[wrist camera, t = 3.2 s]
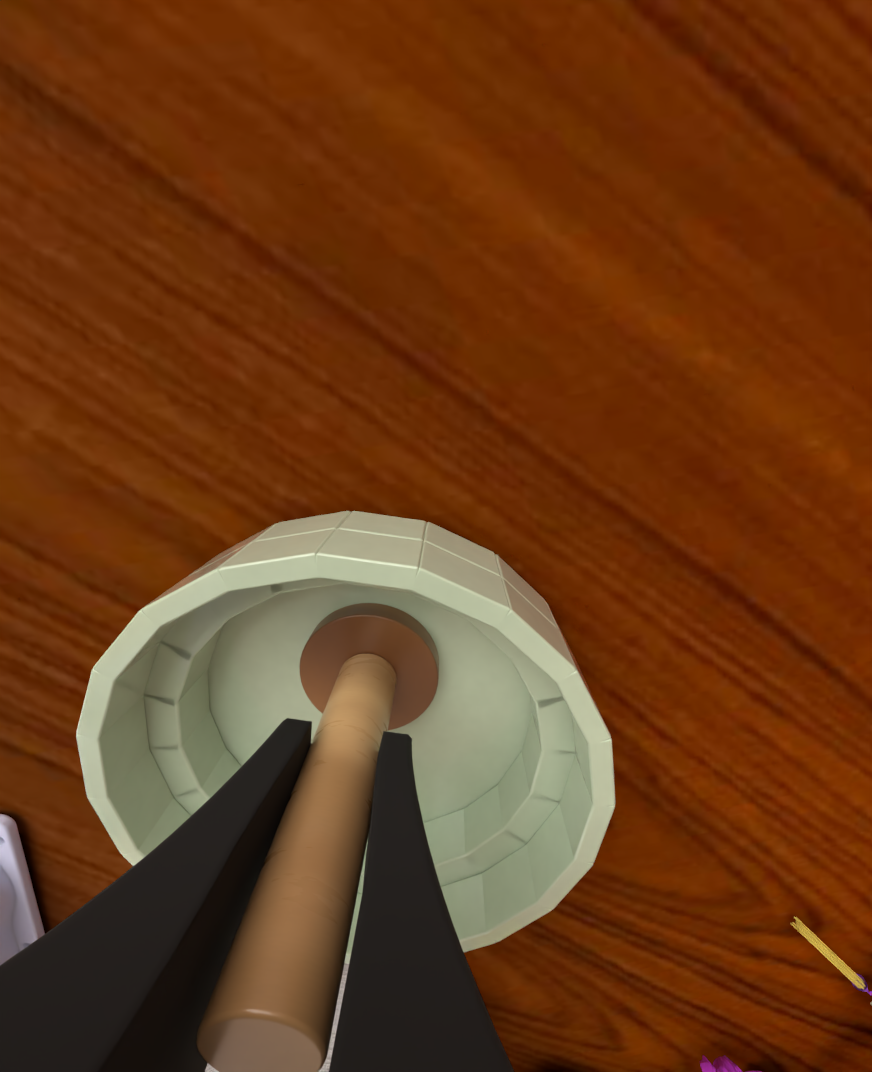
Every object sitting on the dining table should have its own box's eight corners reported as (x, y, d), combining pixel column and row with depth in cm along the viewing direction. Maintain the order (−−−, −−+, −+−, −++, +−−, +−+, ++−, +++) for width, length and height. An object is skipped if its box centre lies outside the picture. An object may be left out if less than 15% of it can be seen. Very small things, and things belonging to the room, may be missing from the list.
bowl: (526, 861, 18) (547, 990, 14) (184, 816, 17) (110, 935, 14) (622, 543, 13) (692, 605, 9) (158, 477, 13) (35, 513, 9)
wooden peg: (429, 722, 15) (402, 1148, 6) (304, 705, 15) (114, 1113, 6) (448, 612, 13) (444, 977, 5) (309, 593, 13) (73, 931, 5)
